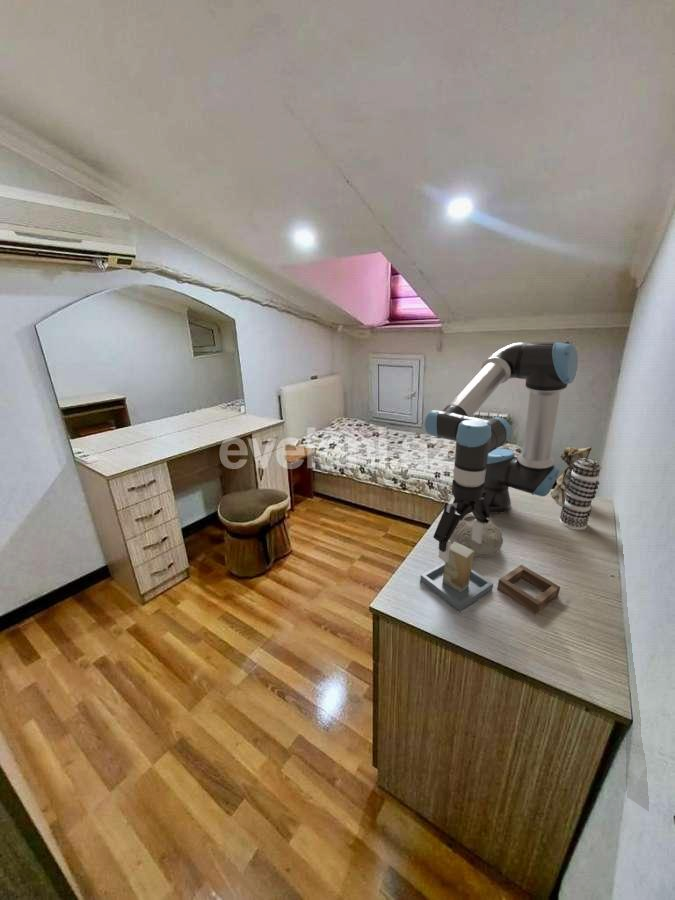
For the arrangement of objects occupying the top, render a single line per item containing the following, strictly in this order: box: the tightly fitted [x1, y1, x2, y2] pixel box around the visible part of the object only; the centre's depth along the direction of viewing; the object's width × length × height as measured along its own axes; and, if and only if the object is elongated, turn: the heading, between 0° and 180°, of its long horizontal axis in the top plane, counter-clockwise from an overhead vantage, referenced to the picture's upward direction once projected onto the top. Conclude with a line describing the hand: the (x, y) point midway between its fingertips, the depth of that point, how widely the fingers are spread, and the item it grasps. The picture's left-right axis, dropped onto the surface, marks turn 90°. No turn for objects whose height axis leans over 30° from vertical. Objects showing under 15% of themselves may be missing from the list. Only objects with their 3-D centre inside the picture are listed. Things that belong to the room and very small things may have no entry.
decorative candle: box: [559, 457, 603, 531], centre depth 124 cm, size 9×9×25 cm
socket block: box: [496, 564, 561, 616], centre depth 96 cm, size 11×11×4 cm
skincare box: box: [443, 542, 475, 593], centre depth 98 cm, size 6×4×12 cm
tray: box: [419, 561, 494, 613], centre depth 100 cm, size 14×14×2 cm
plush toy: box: [550, 445, 592, 507], centre depth 140 cm, size 14×14×25 cm
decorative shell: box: [449, 513, 504, 558], centre depth 115 cm, size 18×18×10 cm
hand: (460, 550), depth 96 cm, fingers open, 13 cm apart
